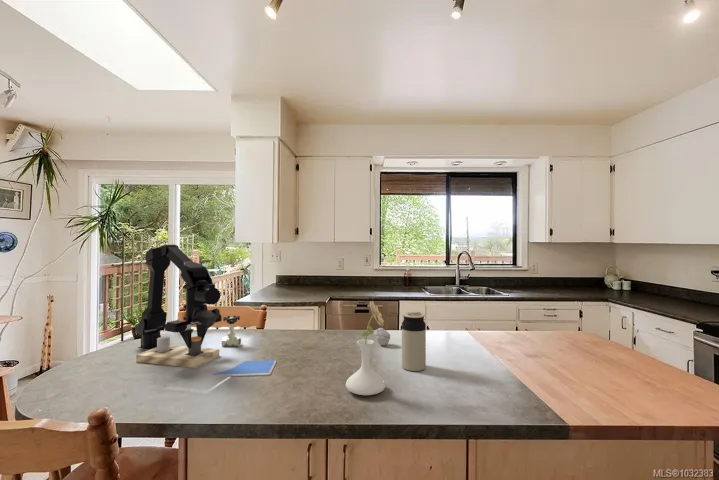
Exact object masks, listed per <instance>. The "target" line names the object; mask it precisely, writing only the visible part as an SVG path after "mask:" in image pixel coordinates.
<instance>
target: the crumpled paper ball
mask: <svg viewBox="0 0 719 480" xmlns="http://www.w3.org/2000/svg"><path fill="white" fill-rule="evenodd" d="M373 334H374V337H375V338H376V342H377V344H378V345H380V346H387V345H388V344H389V343H390V340H391V334H390V333H389V331H388V330H386V329H385V328H383V327H379V328H377V329H375V330H374V332H373Z"/></svg>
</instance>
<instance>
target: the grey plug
mask: <svg viewBox="0 0 719 480" xmlns="http://www.w3.org/2000/svg"><path fill="white" fill-rule="evenodd" d="M170 345H171V337H170V336H161V337H160V338H157V353H166V352H168V351H170Z"/></svg>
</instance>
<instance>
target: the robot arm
mask: <svg viewBox="0 0 719 480" xmlns="http://www.w3.org/2000/svg"><path fill="white" fill-rule="evenodd" d="M144 256H145V265H146V266H147V268H148V269H149V284H148V285H149V286H148V296H147V306H146V308H145V309H144V311H142V313H141V318H140V320H139V322H138V324H137V325H136V327H135V332H136V334H137V335H140V346H139V347H137V349H144V350H145V349H146V350H151V349H154V348H156V347H157V338H160V337H162V335H161V332H163V331H165V332H171V333H175V334H177V333H179V335H180V336H181V338H182V339H183V341H184V343H185V345H186V346H187V347H188V348H191V337H192V335H193V334H192V333H193V332H194V330H195V329H194V328H192V326H193V325H195V326H196V334H197V335H196V336H201V346H202V345H203V342H204V339H205V337H206V334H207V331H208V330H209V329H210V328H211V327H212V326H214V325H215V324H216V323H219V322H222V321H223V319H222V315H221V313H220V309H218V308H213V309H208V305H210V306H213V305H216V304H217V303H218V302H219V301H220V299H221V293H220V290H219V289H218V288H217V287H216V284H215V283H213V279H212V278H211V275H210V273H209V271H208V268H207V267H206V266H204V265H203V264H202V263H199V262H195V261H193V260H192V259H190V257H189V256H188V255H186V254H185V252H183V251H182V250H181V249H180V247H179V245H177V244H164V245H161V246H158V247H154V248H150V249H148V251H146V252H145V255H144ZM171 262H172V264H174V266H175V267H176V268H178V270H179V271H180V277H181V279H182V280H183V281H184V283H185V284H184V285H183V286H182V288H183V289H186V290H185V304H183V309H185V316H183V320H177V319H176V320H172V321H167V315H168V314H167V311H165V310H164V308H163V298H164V297H163V296H164V284H165V274H166V273H165V272H166V271H167V269H168V267H170V265H171Z"/></svg>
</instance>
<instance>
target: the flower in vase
mask: <svg viewBox="0 0 719 480" xmlns="http://www.w3.org/2000/svg"><path fill="white" fill-rule="evenodd" d="M369 307H370V310H371V313H372V315H371V316H370V319H369V320H368V324H367V326H366V327H367V328H366V331H363V333H362V334H361V335H360V336H361V337H365V338H364V339H358V340H357V341H356V343H357V345H358V346H359V348H360V352H361V366H360V368H359V369H358V370H357V371H355V372H354V373H353V374H352V375H350V376H349V378H347V380H346V382H345V388H346V389H347V390H348V391H349V392H350V393H352V394H355V395H359V396H360V395H361V396H372V395H377V394H380V393H381V392H383V391H384V390H385V388H386V385H387V384H386V382H385V379H384V378H383V377H381V376H380V374H379V373H377V372H375V370H373V369H372V367H371V365H370V363H371V362H370V361H371V360H370V356H371V350H372V348H373V345H374V344H375V340H372V339H368V336H369V335H373V334H374V332H375V330H374V329H373V327H372V326H371V325H370V323H371V322H372V320H373V318H374V319H375V321H376V322H377V324H378V325H379V326H381V327H383V326H385V324H384V323H385V320H384V318H382V317H383V315H382V313H381V312H380V310H379V307H378V306H377V305H375V302H374V301H373V300H372V301H371V300H370V301H369Z"/></svg>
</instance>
